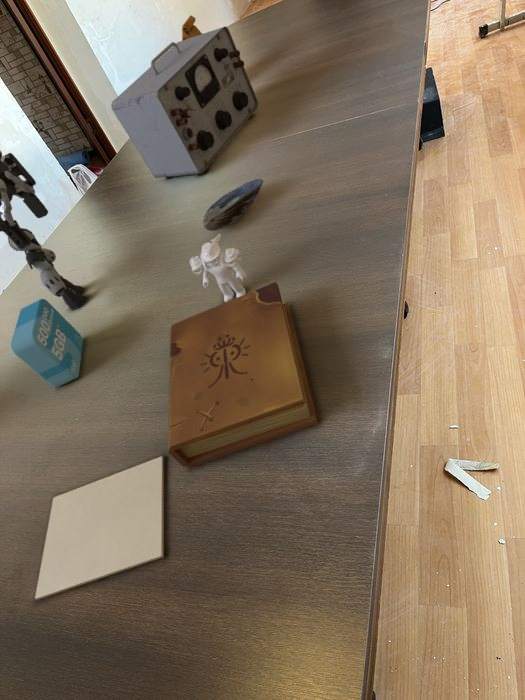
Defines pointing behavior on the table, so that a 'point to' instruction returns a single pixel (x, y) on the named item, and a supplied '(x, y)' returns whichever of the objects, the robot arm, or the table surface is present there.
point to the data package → (47, 343)
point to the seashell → (231, 206)
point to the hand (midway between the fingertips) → (35, 230)
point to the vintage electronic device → (187, 104)
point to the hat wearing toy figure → (220, 268)
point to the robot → (50, 272)
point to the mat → (104, 528)
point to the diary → (235, 378)
